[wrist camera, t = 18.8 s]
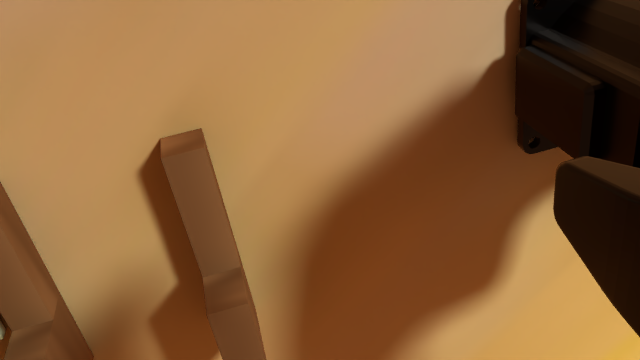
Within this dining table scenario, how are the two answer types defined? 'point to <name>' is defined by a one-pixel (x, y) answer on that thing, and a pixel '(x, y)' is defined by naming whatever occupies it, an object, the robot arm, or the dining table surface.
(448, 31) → the dining table surface
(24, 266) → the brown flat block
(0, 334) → the cradle
